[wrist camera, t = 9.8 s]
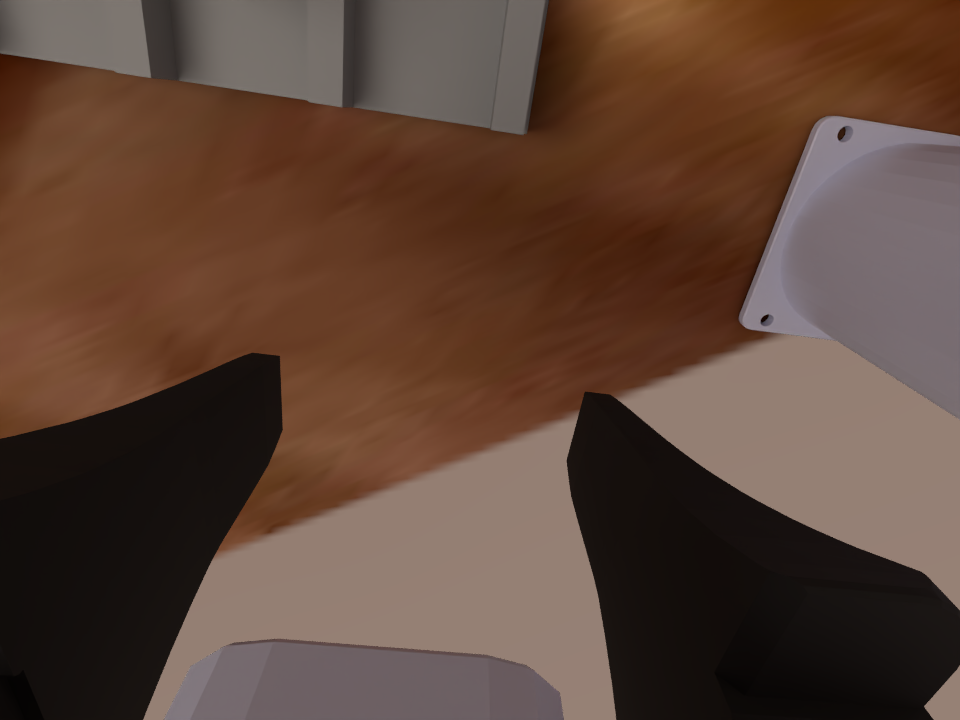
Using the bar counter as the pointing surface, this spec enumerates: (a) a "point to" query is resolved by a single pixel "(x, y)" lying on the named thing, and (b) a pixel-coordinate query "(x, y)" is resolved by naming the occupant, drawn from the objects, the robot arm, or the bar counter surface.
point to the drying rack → (308, 49)
